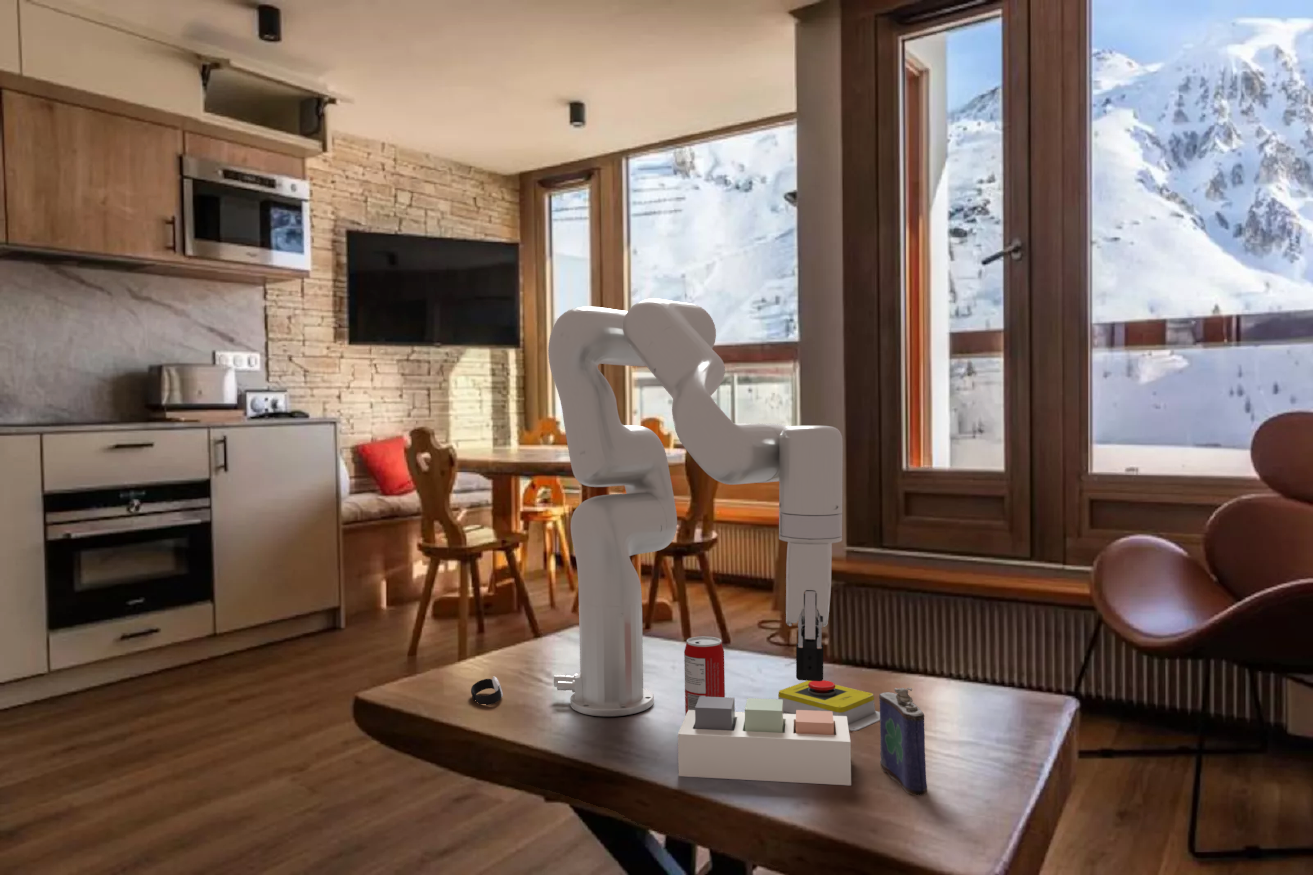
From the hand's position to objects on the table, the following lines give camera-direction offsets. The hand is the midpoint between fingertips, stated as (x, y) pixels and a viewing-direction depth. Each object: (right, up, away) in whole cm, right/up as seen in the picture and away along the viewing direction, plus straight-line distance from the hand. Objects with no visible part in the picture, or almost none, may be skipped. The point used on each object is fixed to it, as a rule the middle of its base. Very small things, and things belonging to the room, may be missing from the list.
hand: (809, 678), depth 103 cm
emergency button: (+6, -11, +21) cm, 24 cm away
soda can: (-12, -11, +16) cm, 23 cm away
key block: (-5, -11, +1) cm, 12 cm away
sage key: (-5, -7, +1) cm, 9 cm away
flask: (+10, -11, -4) cm, 16 cm away
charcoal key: (-11, -7, +2) cm, 14 cm away
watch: (-45, -12, +29) cm, 55 cm away
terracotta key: (+1, -9, 0) cm, 9 cm away
